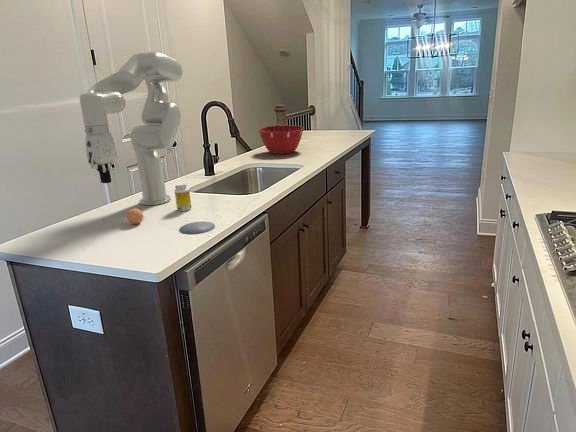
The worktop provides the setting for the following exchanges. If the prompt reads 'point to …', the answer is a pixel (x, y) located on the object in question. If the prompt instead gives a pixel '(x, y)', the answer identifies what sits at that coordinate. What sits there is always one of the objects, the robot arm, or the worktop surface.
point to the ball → (134, 216)
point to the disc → (197, 227)
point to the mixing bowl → (281, 138)
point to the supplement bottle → (182, 197)
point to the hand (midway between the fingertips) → (106, 182)
